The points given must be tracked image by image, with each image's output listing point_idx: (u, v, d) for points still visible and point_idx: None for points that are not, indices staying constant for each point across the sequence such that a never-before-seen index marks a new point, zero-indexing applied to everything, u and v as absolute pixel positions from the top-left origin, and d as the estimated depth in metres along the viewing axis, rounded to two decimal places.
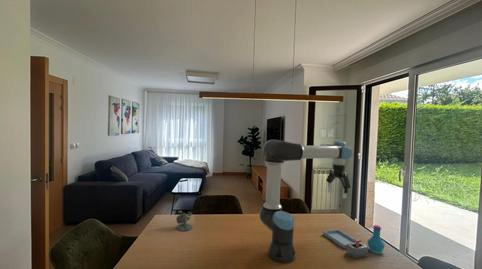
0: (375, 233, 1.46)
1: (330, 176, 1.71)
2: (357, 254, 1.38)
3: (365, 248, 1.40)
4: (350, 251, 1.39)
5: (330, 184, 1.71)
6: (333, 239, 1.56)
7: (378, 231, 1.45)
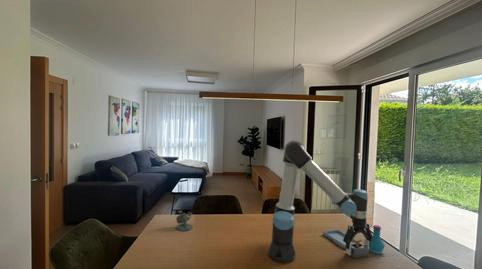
0: (375, 233, 1.46)
1: (367, 231, 1.44)
2: (357, 254, 1.38)
3: (365, 248, 1.40)
4: None
5: (365, 240, 1.44)
6: (333, 239, 1.56)
7: (378, 231, 1.45)
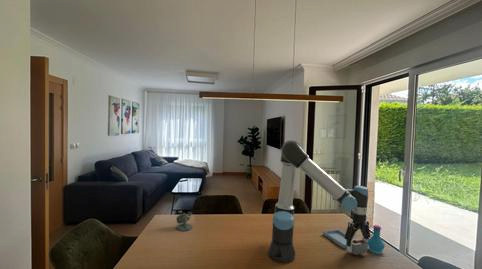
0: (375, 233, 1.46)
1: (365, 229, 1.44)
2: (357, 250, 1.38)
3: (365, 244, 1.40)
4: None
5: (363, 239, 1.43)
6: (333, 239, 1.56)
7: (378, 231, 1.45)
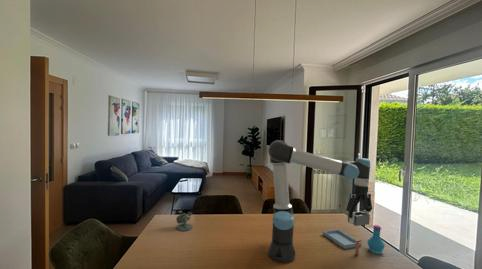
0: (375, 233, 1.46)
1: (367, 202, 1.43)
2: (359, 222, 1.37)
3: (367, 216, 1.39)
4: None
5: (365, 212, 1.43)
6: (333, 239, 1.56)
7: (378, 231, 1.45)
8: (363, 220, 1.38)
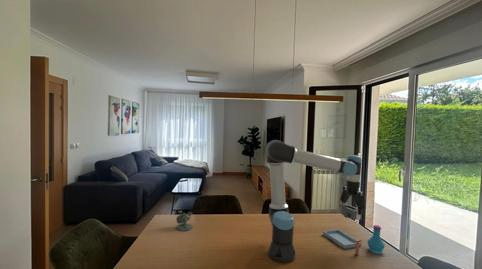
0: (375, 233, 1.46)
1: (344, 194, 1.54)
2: None
3: None
4: None
5: (345, 204, 1.53)
6: (333, 239, 1.56)
7: (378, 231, 1.45)
8: None
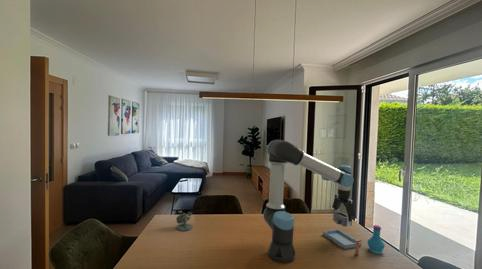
0: (375, 233, 1.46)
1: (336, 202, 1.64)
2: None
3: None
4: None
5: (336, 211, 1.63)
6: (333, 239, 1.56)
7: (378, 231, 1.45)
8: None
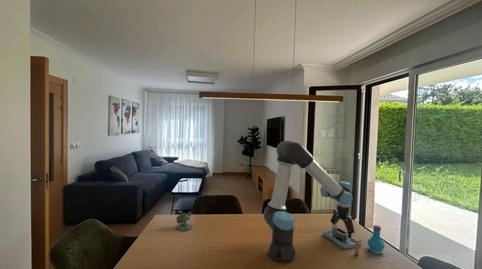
0: (375, 233, 1.46)
1: (334, 217, 1.65)
2: None
3: None
4: None
5: (334, 226, 1.64)
6: (333, 239, 1.56)
7: (378, 231, 1.45)
8: None
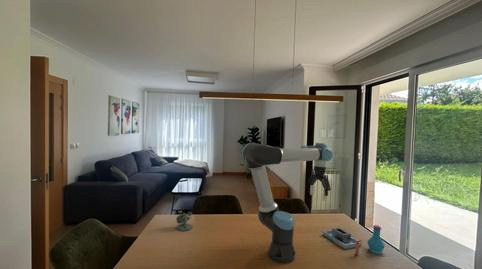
0: (375, 233, 1.46)
1: (312, 178, 1.68)
2: None
3: None
4: (347, 238, 1.54)
5: (312, 186, 1.68)
6: (333, 239, 1.56)
7: (378, 231, 1.45)
8: None
